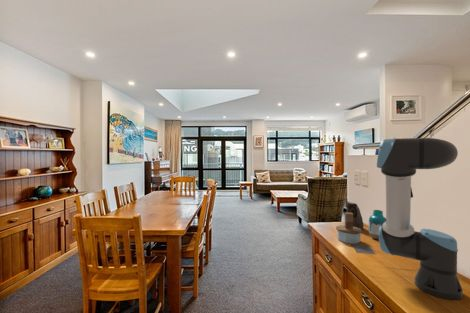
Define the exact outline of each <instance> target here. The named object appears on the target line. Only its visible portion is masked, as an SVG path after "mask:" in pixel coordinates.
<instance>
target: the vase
mask: <svg viewBox="0 0 470 313" xmlns="http://www.w3.org/2000/svg"><path fill="white" fill-rule="evenodd" d="M384 222H386V217H385V216H384V211H383V210H380V209H373V211H372V214H371V215H370V216H369V219H368V233H369V234H368V235H369V236H370V237H371V238H372V239H374V240H378V241H379V227H380V226H382V225H383V223H384Z"/></svg>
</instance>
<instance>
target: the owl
mask: <svg viewBox="0 0 470 313" xmlns="http://www.w3.org/2000/svg"><path fill="white" fill-rule="evenodd" d="M346 202H347V203H346V211H345V212H350V213H353V226H354V227H357V228H360V229H361V230H362V231H363V229H364V221H363V220H364V219H363V216H362V212H361V209H360V208H359V206H358V203H355V202H352V201H346Z"/></svg>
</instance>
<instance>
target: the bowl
mask: <svg viewBox="0 0 470 313" xmlns="http://www.w3.org/2000/svg"><path fill="white" fill-rule="evenodd" d="M336 233H337V234H336V235H337V236H336V238H337V239H338V241H340V242H342V243H345V244H357V245H358V244H359V243H361V234H362V233H360V234H349V233H343V232H340V231H338V230H337V232H336Z"/></svg>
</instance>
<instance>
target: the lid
mask: <svg viewBox="0 0 470 313" xmlns="http://www.w3.org/2000/svg"><path fill="white" fill-rule="evenodd" d="M335 226H336V227H335V229H336V230H338V231H340V232H343V233H349V234H360V233H361V234H362V232H363V229H362V230H361V229H360V228H357V227H354V226H353V213H350V212H346V211H345V212H344V224H342V225H335Z"/></svg>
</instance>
